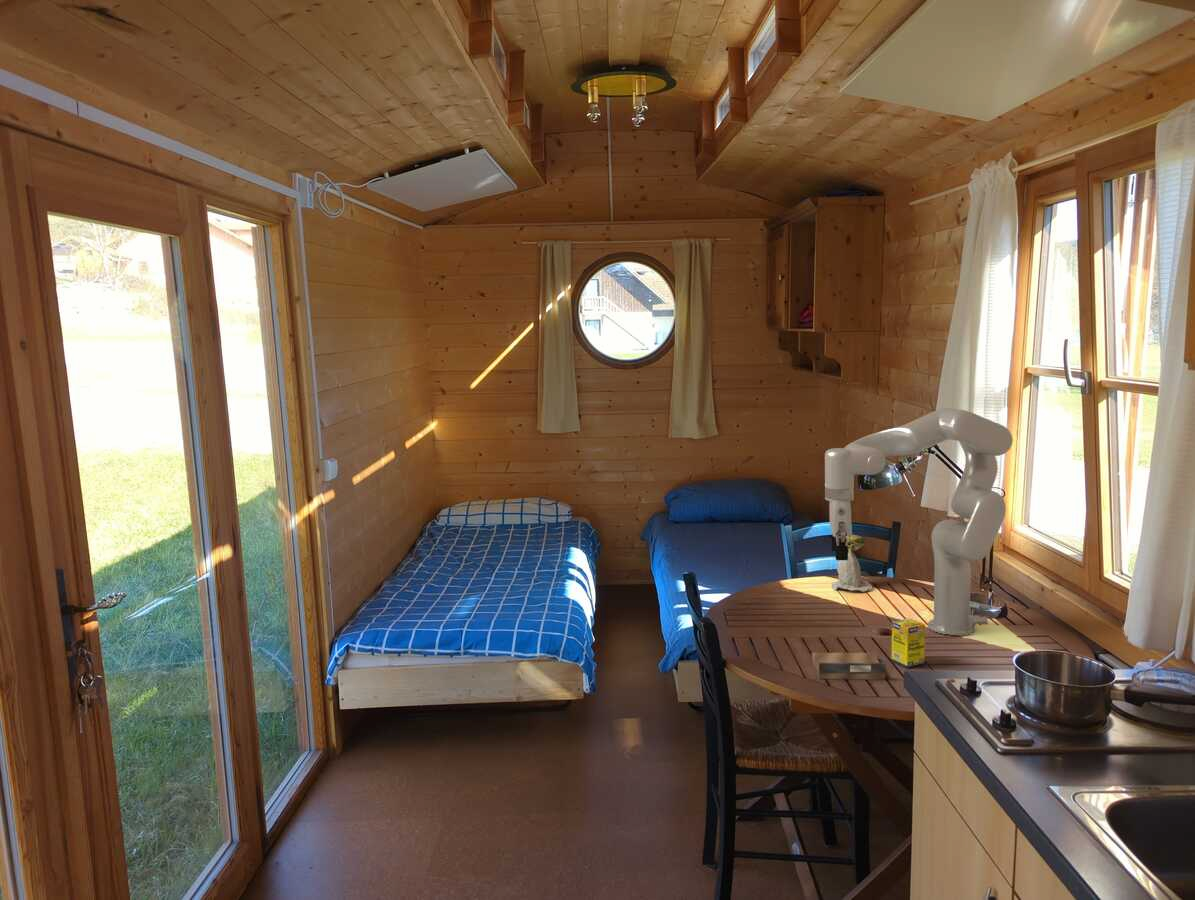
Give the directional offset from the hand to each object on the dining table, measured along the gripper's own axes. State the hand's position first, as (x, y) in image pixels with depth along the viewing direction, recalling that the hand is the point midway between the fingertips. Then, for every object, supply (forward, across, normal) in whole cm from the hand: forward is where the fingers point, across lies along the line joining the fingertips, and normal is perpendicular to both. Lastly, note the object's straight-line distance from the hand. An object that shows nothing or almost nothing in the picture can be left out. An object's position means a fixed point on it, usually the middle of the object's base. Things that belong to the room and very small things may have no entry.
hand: (839, 555), depth 238 cm
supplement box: (+25, -14, -16) cm, 33 cm away
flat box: (+25, -18, 0) cm, 31 cm away
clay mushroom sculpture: (+26, +52, -10) cm, 59 cm away
